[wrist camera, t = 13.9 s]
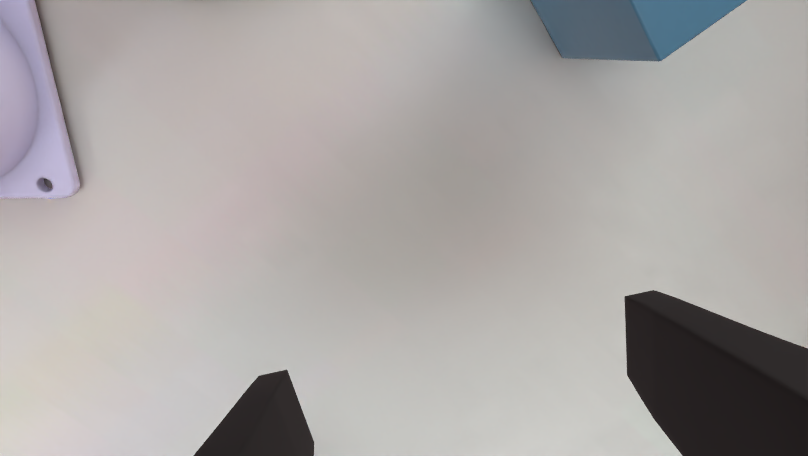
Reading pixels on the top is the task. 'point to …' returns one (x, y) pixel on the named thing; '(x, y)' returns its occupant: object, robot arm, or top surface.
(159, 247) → the top surface
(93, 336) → the top surface
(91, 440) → the top surface
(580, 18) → the block
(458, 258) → the top surface
